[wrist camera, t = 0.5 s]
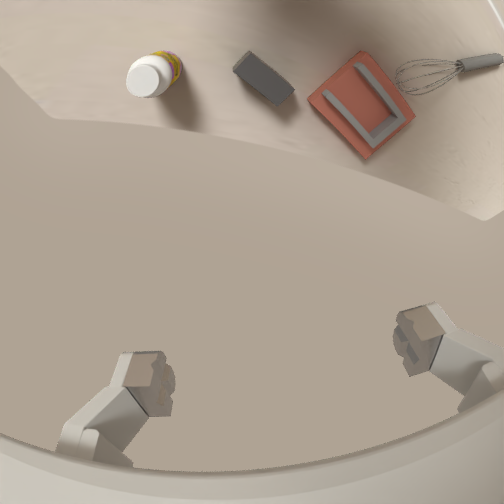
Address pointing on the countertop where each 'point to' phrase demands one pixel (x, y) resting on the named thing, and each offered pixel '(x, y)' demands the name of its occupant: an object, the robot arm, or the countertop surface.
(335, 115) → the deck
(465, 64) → the kitchen whisk
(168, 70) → the supplement bottle
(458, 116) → the countertop surface
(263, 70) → the dark gray eraser
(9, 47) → the countertop surface
